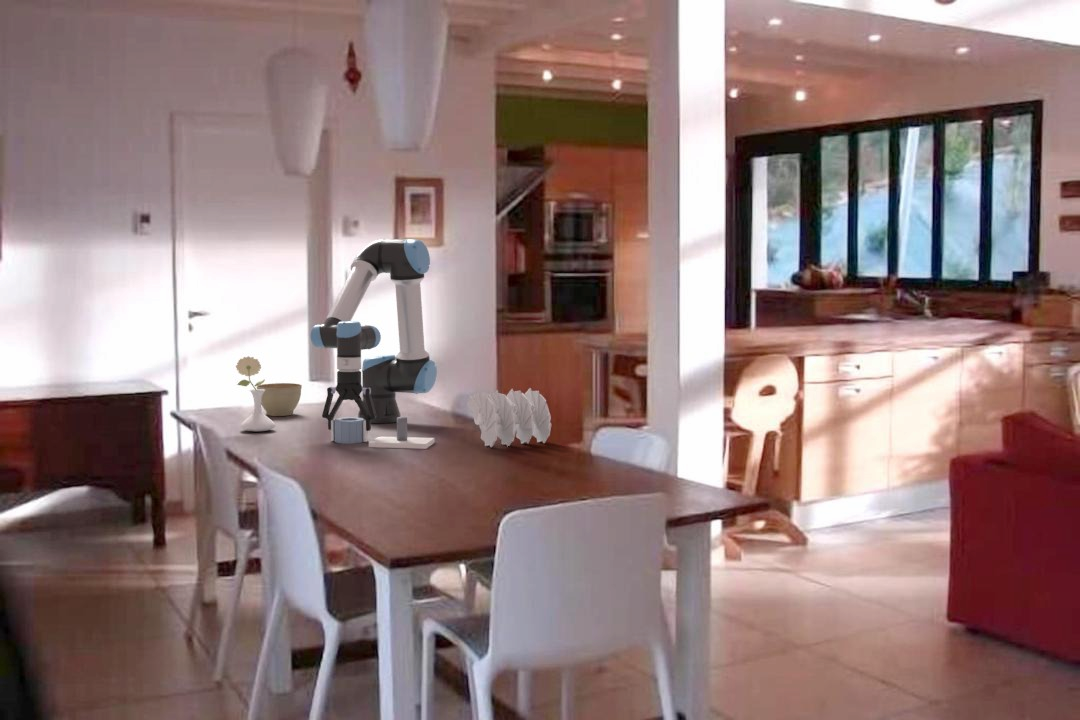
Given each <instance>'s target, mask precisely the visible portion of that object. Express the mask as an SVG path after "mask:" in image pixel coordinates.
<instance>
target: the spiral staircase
mask: <svg viewBox="0 0 1080 720" xmlns="http://www.w3.org/2000/svg"><path fill="white" fill-rule="evenodd" d="M466 407H467V409H468V411H469V412H470V413H471V414H472V416H473V421H474V424H475V425H476V426H479V429H480V431H481V435H480V439H481V440H482V441H483V442H484V447H488V446H489V447H490V448H493V446H494V445H495V443H496V442H497V440H498V438H499V439H500V440H501V444H502V445H503V446H504V445H506V447H507V448H508V446H509V447H510V446H511V444H512V443H513V442H514V441H515V438H516V439H519V440H520V444H521V445H524V444H529V443H530V441H531V439H532V437H534V438H536V443H541V442H542V443H543V444H545V443H546V442H547V440H548V438H549V437H550V435H551V431H552V430H551V428H552V423H551V418H552V417H551V413H550V409H549V405H548V403H547V400H546V398H545V397H544V396H543V395H542V394H541V393H540V391H539V390H532V388H531V387H529V388H528V389H527V391H525V393H524V392H522V391H521V390H515V391H514V388H511V389H510V390H509V392H508V393H507V394H503V393H500V392H499V390H498V389H496V390H495V391H494V392H493V393H492V394H490V393H488V394H487V393H480V390H477V391H475V393H474V394H473V395H469V396H468V400H467V404H466ZM502 445H501V446H502Z"/></svg>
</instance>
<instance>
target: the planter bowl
mask: <svg viewBox="0 0 1080 720" xmlns="http://www.w3.org/2000/svg"><path fill="white" fill-rule="evenodd" d="M302 387H303V385H302V384H300V383H295V382H294V383H292V382H287V383H286V382H276V383H265V384H264V383H262V384H261V385H258V386H256V389H264V390H265V391H264V393H263V395H262V400H261V408H263V409H264V410H265V412H266V416H271V417H285V416H291V415H293V414H294V411H295V409H296V408H297V407H298V404H299V402H300V399H301V395H302Z"/></svg>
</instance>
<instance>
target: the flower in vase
mask: <svg viewBox="0 0 1080 720" xmlns="http://www.w3.org/2000/svg"><path fill="white" fill-rule="evenodd" d="M235 368H236V371H237V372H238V373H239V374H240V375H241V376H244V377H248V380H247V379H242V380H240V381H239V382H238V383H237V385H236V386H242V387H247V386H249V385H251V386H252V387H253V389H250V390H249V392H250V393H251V395H252V397H253V403H254V404H253V407H254V409H253V412H252V413H251V414H250V415H249V416H248V417H247V418H245V420H243V421H242V422H241V424H240V428H241V429H242V430H244V431H246V432H257V433H258V432H266V431H270V430H273V429H275V427H276V423H275V422H274V421H273V420H272V419H270V418H269V417H268V415H267V414H264V412H263V411H262V405H261V400H262V395H263V393H264V391H265V390H264V389H257V386H258V385H262V384H264V382H265V380H266V378H264V379H263V380H260V381H257V382H256V383H255V385H254V384H253V382H252V381H251V378H250V377H251V376H256V375H258V374H259V372H260V371H261V369H262V366H261V363H260V361H259V360H258V358H254V356H243V358H240V359H239V360H238V361H237V363H236V365H235Z"/></svg>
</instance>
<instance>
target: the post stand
mask: <svg viewBox="0 0 1080 720" xmlns="http://www.w3.org/2000/svg"><path fill="white" fill-rule="evenodd" d="M435 440H436V439H435V437H414V436H413V437H410V436H408V417H405V416H401V417H398V418H397V422H396V436H378V437H375V438H374V439H372V440H369V441H368V448H384V449H385V448H387V449H388V448H389V449H392V448H393V449H422V450H426V449H428V448H430V447H431V446H432V445H434V444H435V443H436V442H435Z"/></svg>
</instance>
